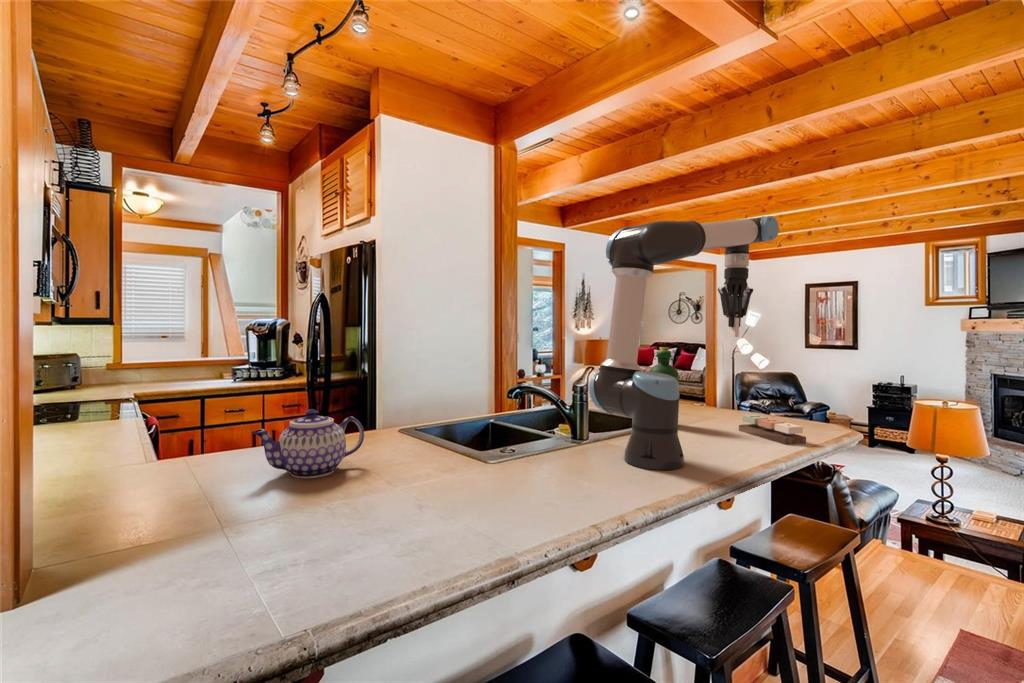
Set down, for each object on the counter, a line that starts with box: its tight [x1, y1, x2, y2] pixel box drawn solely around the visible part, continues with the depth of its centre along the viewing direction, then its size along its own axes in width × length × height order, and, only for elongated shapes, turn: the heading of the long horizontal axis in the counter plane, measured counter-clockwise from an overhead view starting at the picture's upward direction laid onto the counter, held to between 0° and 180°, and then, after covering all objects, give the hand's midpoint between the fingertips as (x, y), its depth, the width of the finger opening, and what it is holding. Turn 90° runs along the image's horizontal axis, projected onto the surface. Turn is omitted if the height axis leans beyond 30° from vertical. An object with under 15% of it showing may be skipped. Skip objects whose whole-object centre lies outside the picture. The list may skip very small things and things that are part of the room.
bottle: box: [649, 346, 680, 382], centre depth 180 cm, size 11×11×28 cm
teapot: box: [253, 408, 365, 479], centre depth 118 cm, size 25×15×15 cm, turn 125°
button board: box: [738, 423, 807, 445], centre depth 165 cm, size 8×20×2 cm, turn 17°
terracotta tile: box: [758, 418, 786, 432], centre depth 164 cm, size 6×6×4 cm
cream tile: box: [774, 422, 804, 437], centre depth 158 cm, size 6×6×4 cm
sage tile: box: [742, 414, 769, 427], centre depth 171 cm, size 6×6×4 cm
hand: (733, 336), depth 171 cm, fingers closed
